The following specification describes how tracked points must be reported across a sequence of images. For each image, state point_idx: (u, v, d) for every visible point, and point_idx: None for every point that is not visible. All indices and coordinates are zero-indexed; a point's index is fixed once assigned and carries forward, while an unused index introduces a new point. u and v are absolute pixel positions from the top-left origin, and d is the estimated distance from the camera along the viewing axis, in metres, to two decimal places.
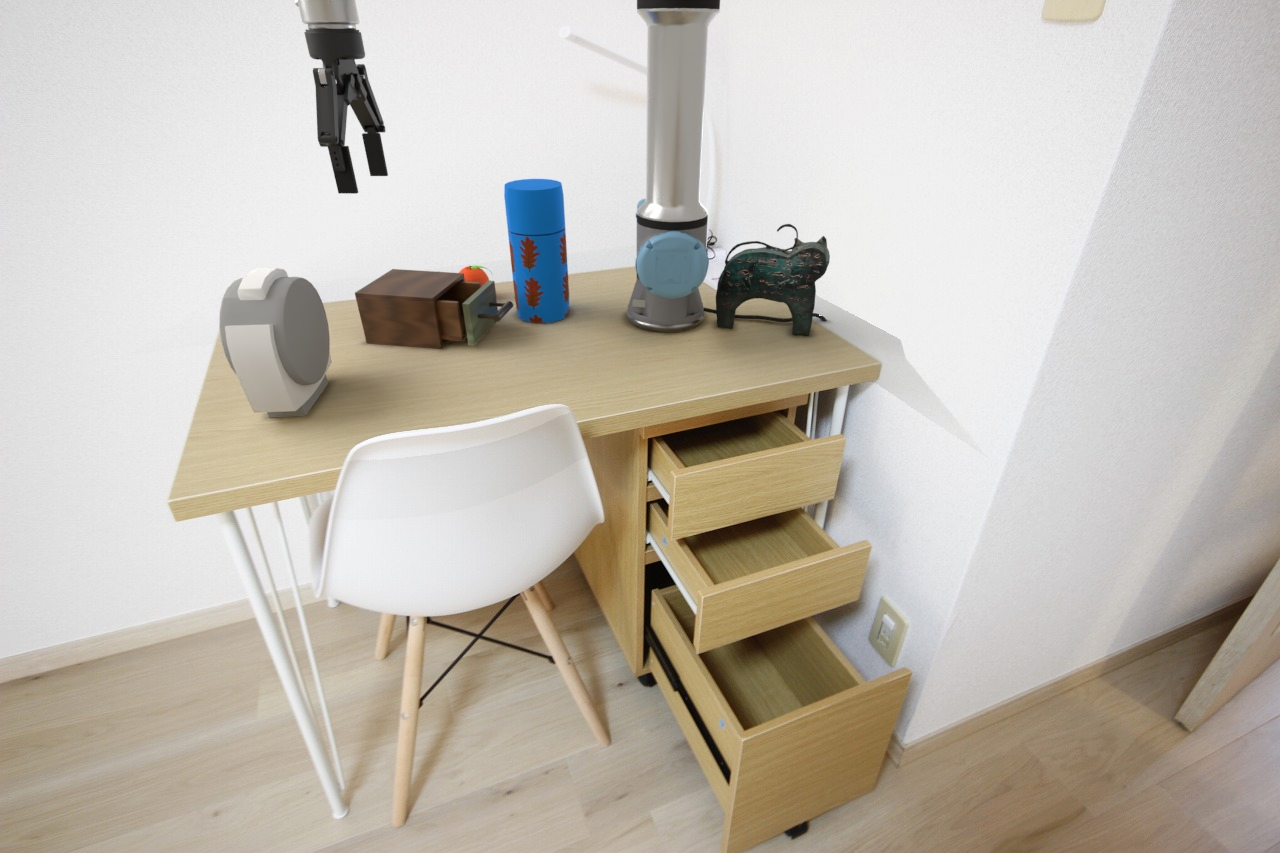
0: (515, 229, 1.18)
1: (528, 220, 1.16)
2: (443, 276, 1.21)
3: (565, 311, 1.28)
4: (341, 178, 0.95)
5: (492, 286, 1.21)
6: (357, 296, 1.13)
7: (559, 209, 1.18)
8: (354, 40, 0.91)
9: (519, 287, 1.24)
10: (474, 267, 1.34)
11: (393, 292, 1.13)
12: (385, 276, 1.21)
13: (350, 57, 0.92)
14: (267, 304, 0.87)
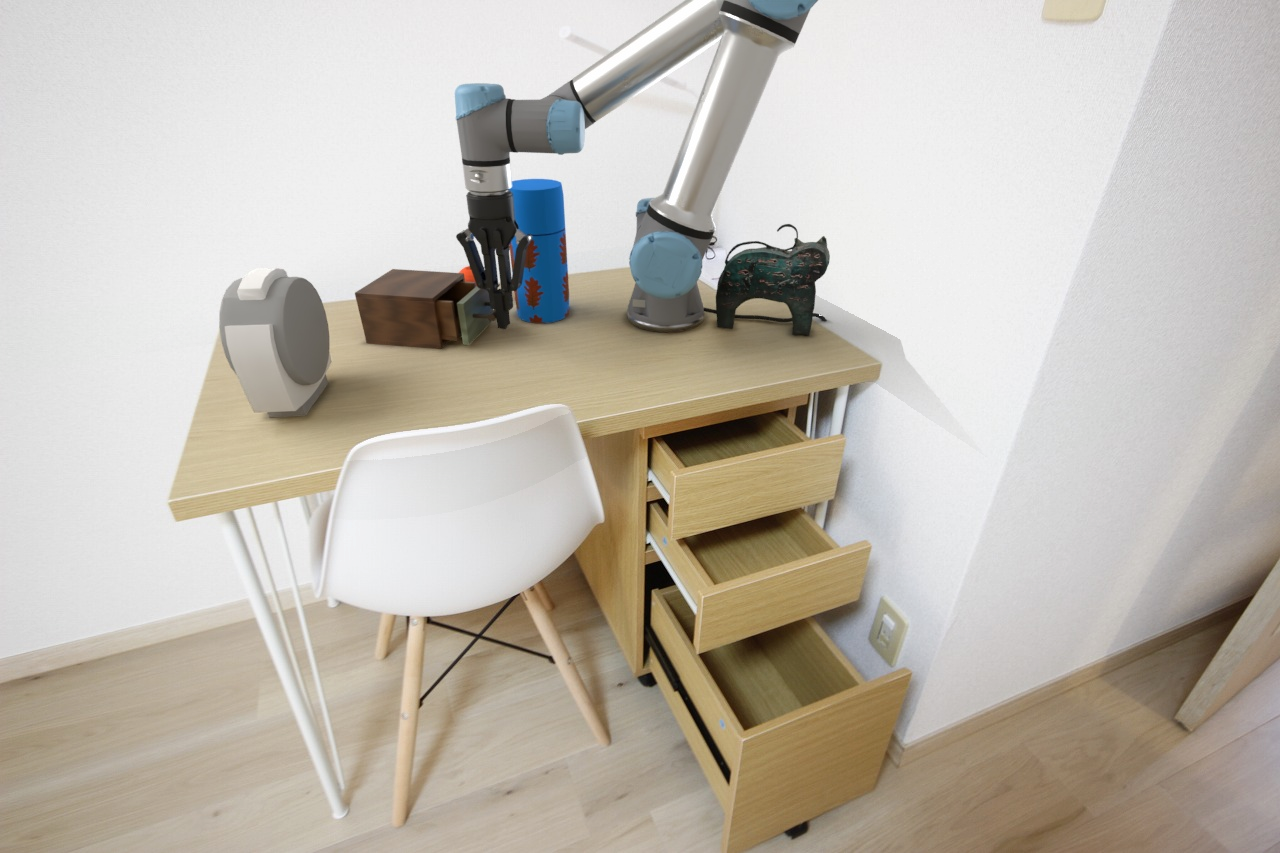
0: None
1: (528, 220, 1.16)
2: (443, 276, 1.21)
3: (565, 311, 1.28)
4: (505, 315, 1.16)
5: None
6: (357, 296, 1.13)
7: (559, 209, 1.18)
8: None
9: (519, 287, 1.24)
10: None
11: (393, 292, 1.13)
12: (385, 276, 1.21)
13: None
14: (267, 304, 0.87)
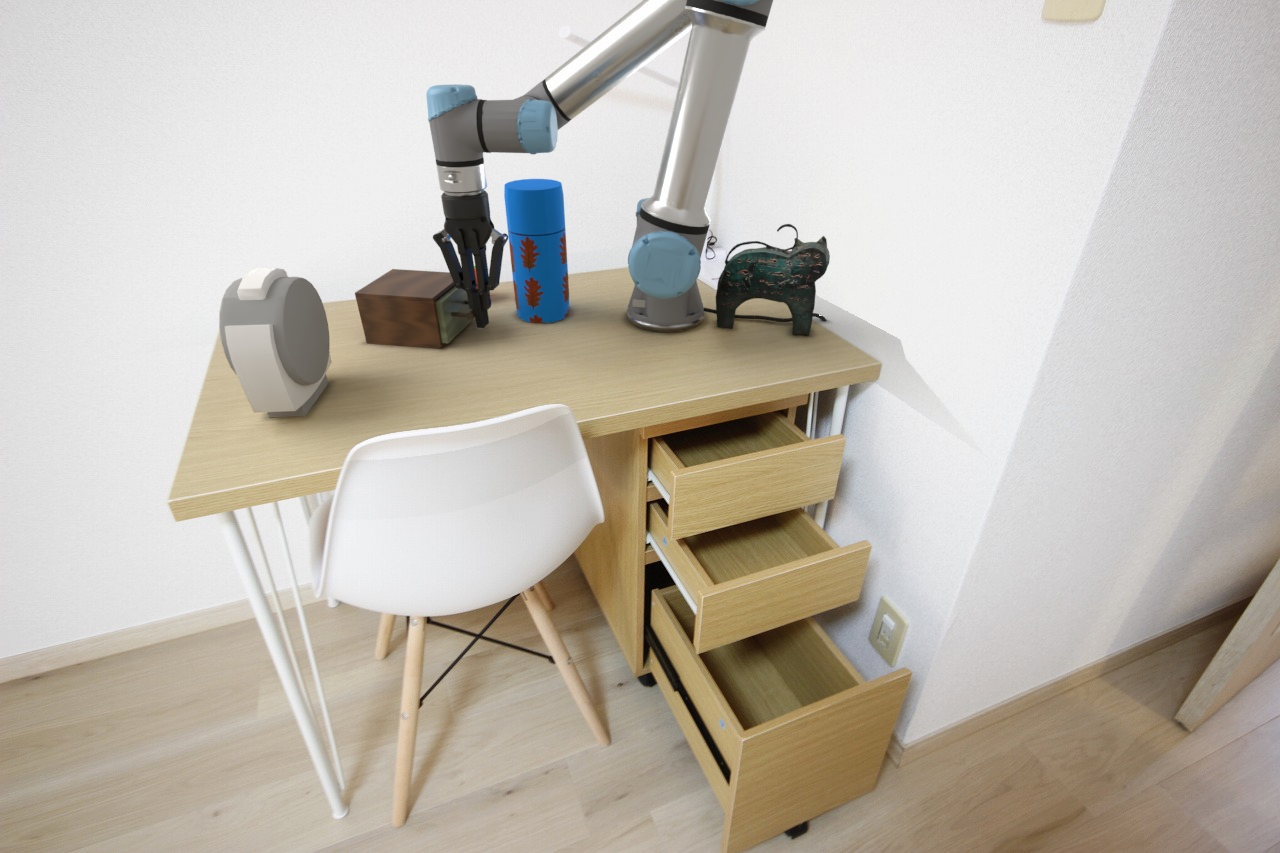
0: (515, 229, 1.18)
1: (528, 220, 1.16)
2: (443, 276, 1.21)
3: (565, 311, 1.28)
4: (484, 315, 1.17)
5: None
6: (357, 296, 1.13)
7: (559, 209, 1.18)
8: None
9: (519, 287, 1.24)
10: (474, 267, 1.34)
11: (393, 292, 1.13)
12: (385, 276, 1.21)
13: None
14: (267, 304, 0.87)
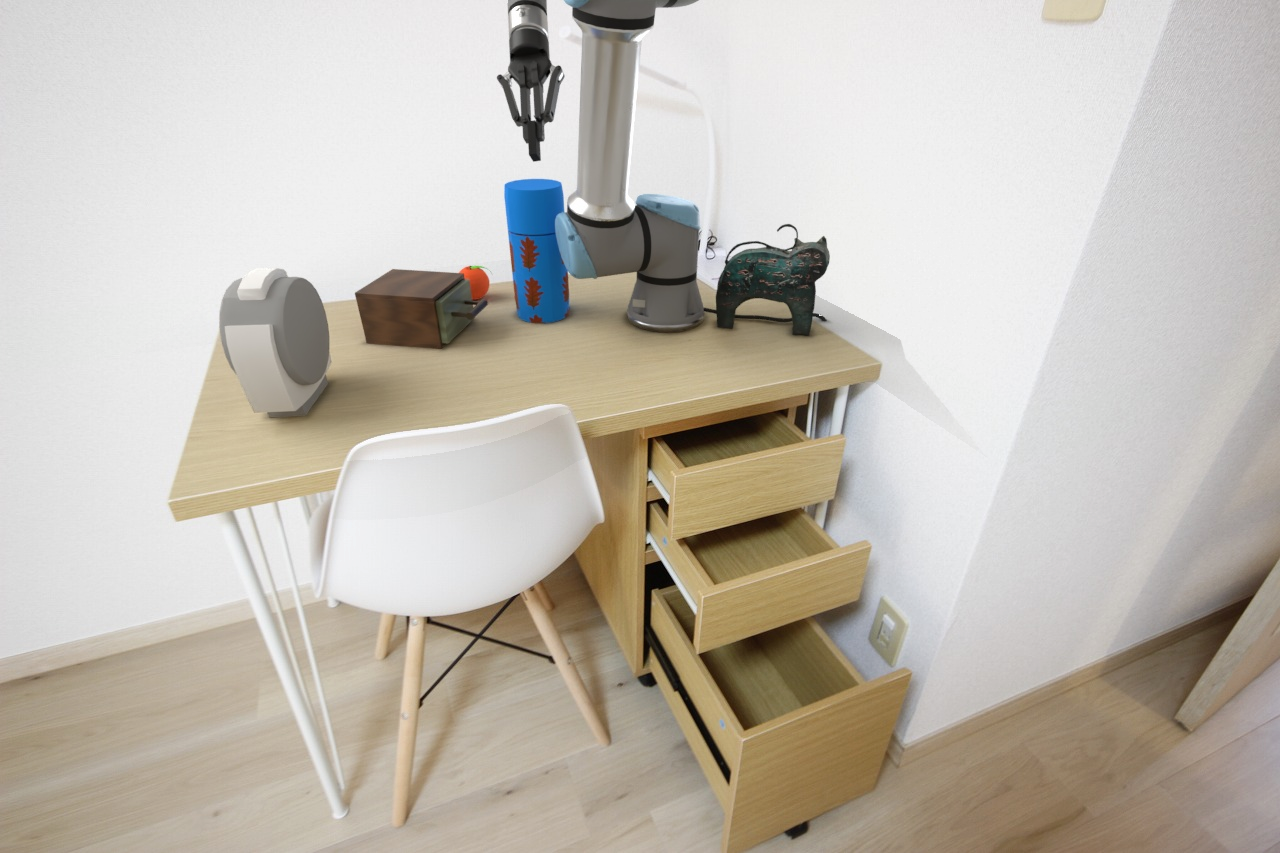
0: (515, 229, 1.18)
1: (528, 220, 1.16)
2: (443, 276, 1.21)
3: (565, 311, 1.28)
4: (537, 145, 1.21)
5: (467, 285, 1.22)
6: (357, 296, 1.13)
7: (559, 209, 1.18)
8: None
9: (519, 287, 1.24)
10: (474, 267, 1.34)
11: (393, 292, 1.13)
12: (385, 276, 1.21)
13: None
14: (267, 304, 0.87)
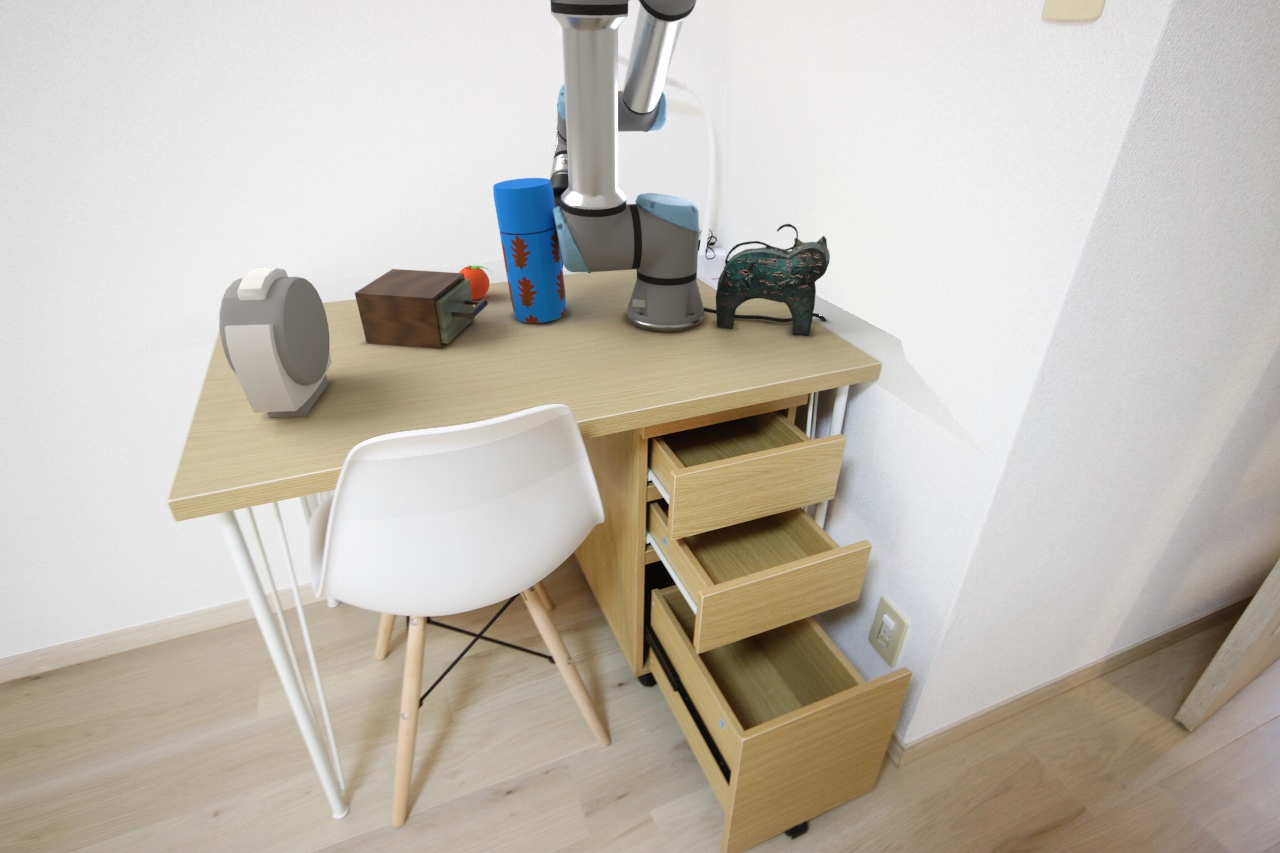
0: (505, 229, 1.17)
1: (517, 219, 1.15)
2: (443, 276, 1.21)
3: (561, 310, 1.27)
4: None
5: (467, 285, 1.22)
6: (357, 296, 1.13)
7: (548, 207, 1.17)
8: None
9: (513, 287, 1.23)
10: (474, 267, 1.34)
11: (393, 292, 1.13)
12: (385, 276, 1.21)
13: None
14: (267, 304, 0.87)
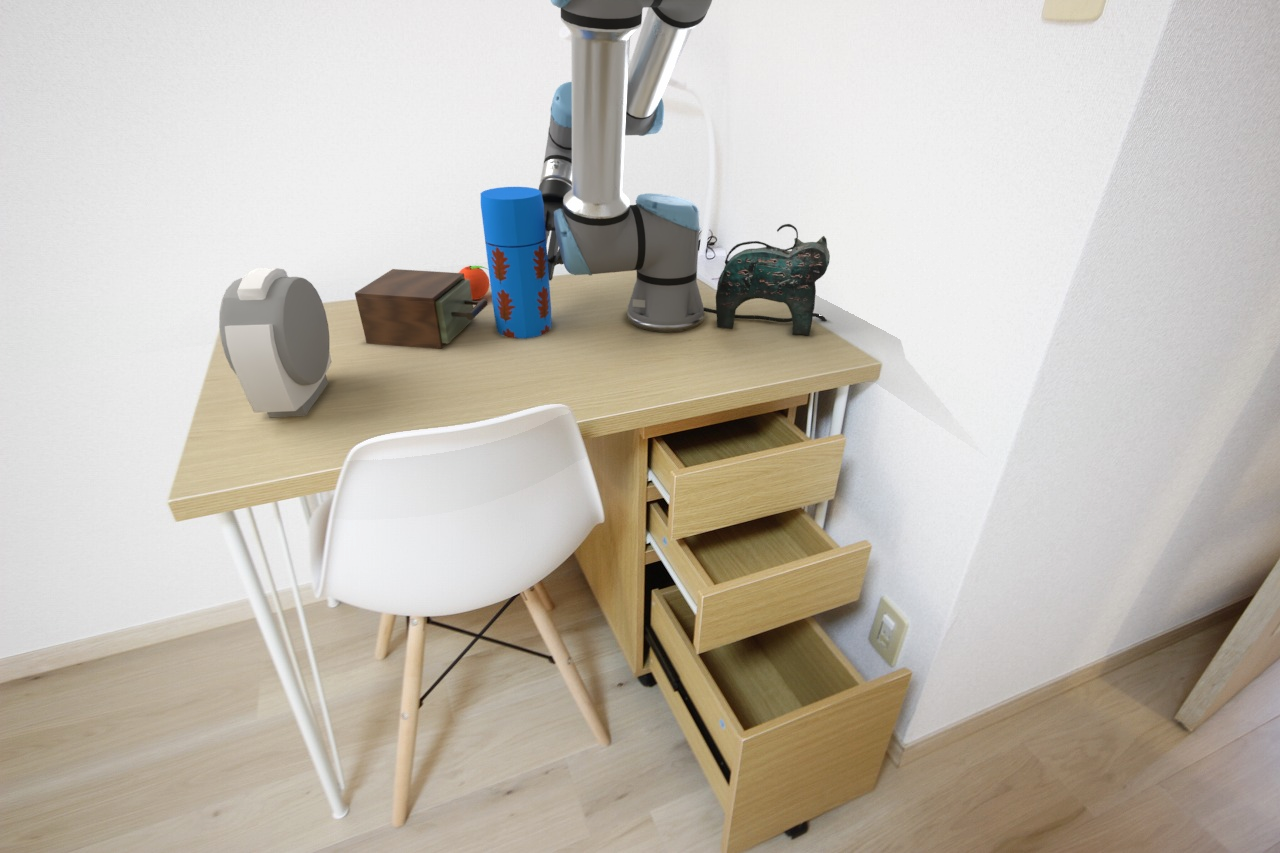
0: (487, 238, 1.12)
1: (497, 230, 1.10)
2: (443, 276, 1.21)
3: (542, 328, 1.21)
4: None
5: (467, 285, 1.22)
6: (357, 296, 1.13)
7: (532, 221, 1.10)
8: None
9: (493, 298, 1.19)
10: (474, 267, 1.34)
11: (393, 292, 1.13)
12: (385, 276, 1.21)
13: None
14: (267, 304, 0.87)
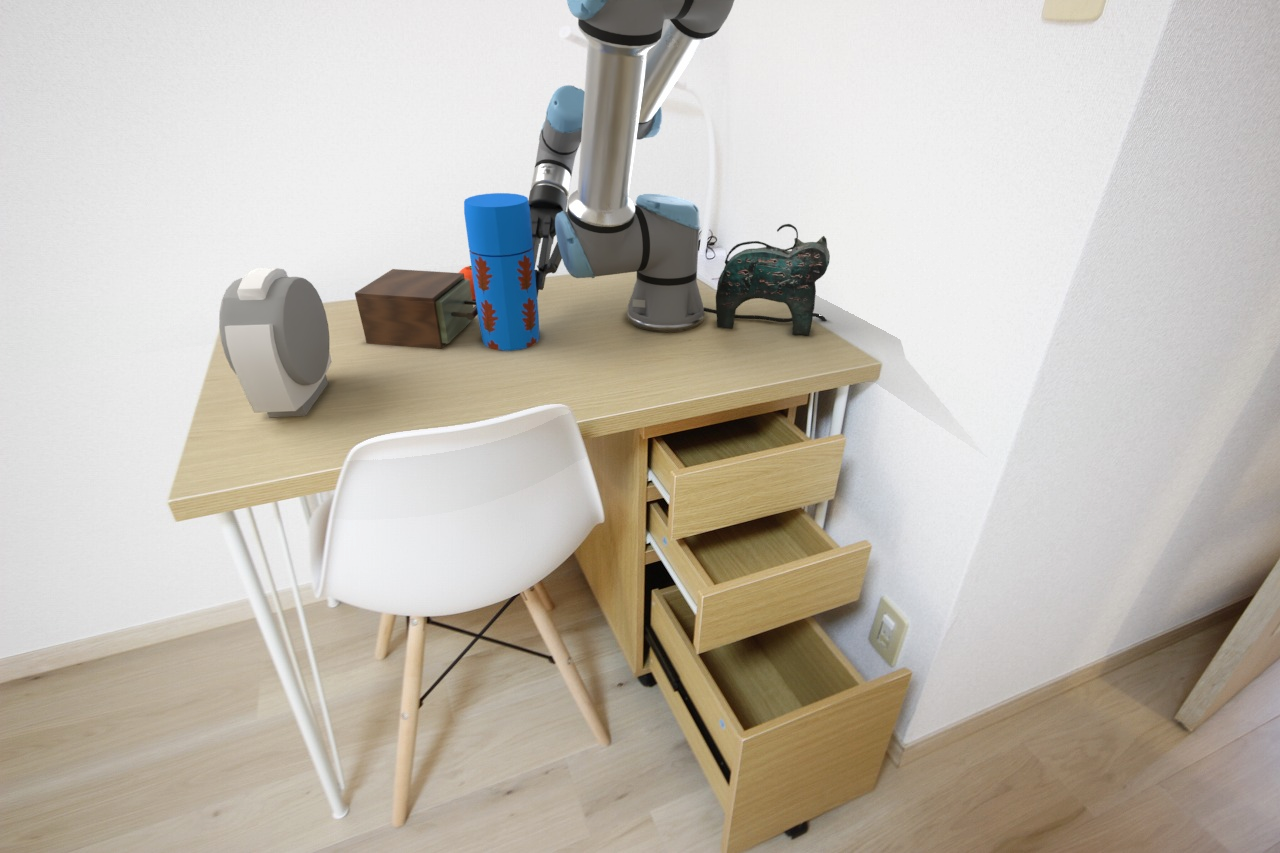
0: (470, 247, 1.08)
1: (480, 239, 1.05)
2: (443, 276, 1.21)
3: (527, 340, 1.16)
4: None
5: (467, 285, 1.22)
6: (357, 296, 1.13)
7: (516, 230, 1.06)
8: None
9: (478, 308, 1.14)
10: None
11: (393, 292, 1.13)
12: (385, 276, 1.21)
13: None
14: (267, 304, 0.87)
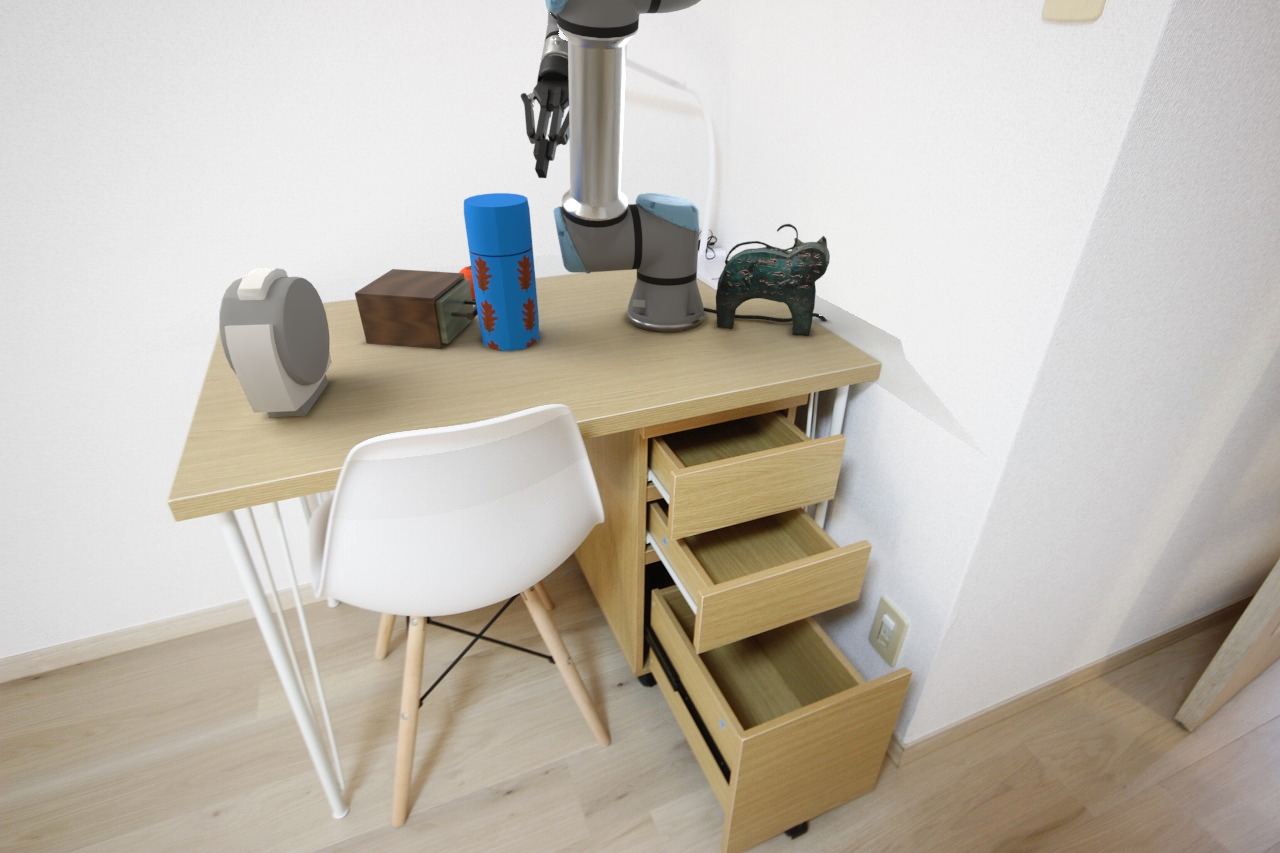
0: (470, 247, 1.08)
1: (479, 239, 1.05)
2: (443, 276, 1.21)
3: (527, 340, 1.16)
4: (545, 162, 1.21)
5: (467, 285, 1.22)
6: (357, 296, 1.13)
7: (516, 229, 1.06)
8: None
9: (478, 309, 1.14)
10: None
11: (393, 292, 1.13)
12: (385, 276, 1.21)
13: None
14: (267, 304, 0.87)
